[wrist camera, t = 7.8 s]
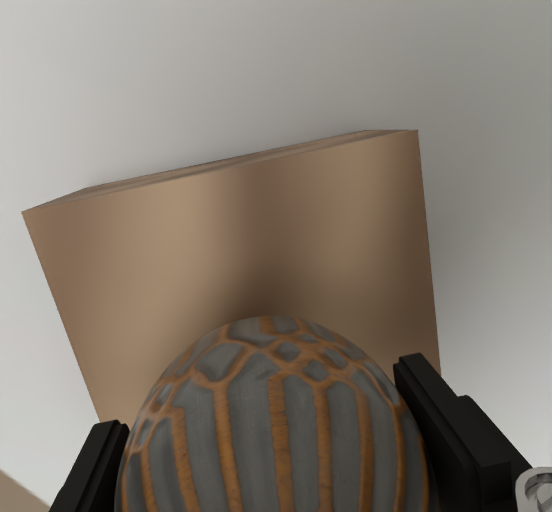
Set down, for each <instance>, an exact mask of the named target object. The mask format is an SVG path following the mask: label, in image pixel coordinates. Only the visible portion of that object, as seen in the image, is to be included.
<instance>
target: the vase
mask: <svg viewBox="0 0 552 512" xmlns="http://www.w3.org/2000/svg"><path fill="white" fill-rule="evenodd" d="M114 512H441V508H440V500H439V494H438V489H437V484H436V479H435V474H434V470H433V466H432V463H431V459H430V455H429V452H428V449H427V446H426V444H425V441H424V438H423V436H422V433H421V431H420V428H419V426H418V424H417V422H416V420H415V418H414V417H413V415H412V413H411V411H410V409H409V407H408V405H407V404H406V402H405V401H404V399H403V398H402V396H401V395H400V393H399V392H398V390H397V389H396V387H395V386H394V384H393V383H392V381H391V380H390V379H389V378H388V377H387V375H386V374H385V373H384V372H383V370H382V369H381V368H380V367H379V366H378V364H377V363H376V362H375V361H374V360H373V359H372V358H371V357H370V356H368V355H367V354H366V353H365V352H364V351H363V350H361V349H360V348H359V347H358V346H356V345H355V344H354V343H352V342H351V341H349V340H348V339H346V338H345V337H343V336H342V335H340V334H338V333H336V332H334V331H332V330H330V329H328V328H326V327H324V326H322V325H319V324H317V323H314V322H311V321H307V320H303V319H299V318H293V317H284V316H259V317H252V318H247V319H242V320H239V321H235V322H232V323H229V324H227V325H224V326H222V327H219V328H217V329H215V330H213V331H211V332H209V333H207V334H206V335H204V336H203V337H201V338H200V339H198V340H197V341H195V342H194V343H193V344H191V345H190V346H189V347H188V348H186V349H185V350H184V351H183V352H182V353H181V354H180V355H178V356H177V357H176V358H175V359H174V360H173V361H172V363H171V364H170V365H169V366H168V367H167V368H166V370H165V371H164V372H163V373H162V374H161V376H160V377H159V378H158V379H157V381H156V382H155V384H154V385H153V387H152V388H151V390H150V391H149V393H148V395H147V397H146V399H145V400H144V402H143V404H142V406H141V408H140V410H139V412H138V414H137V417H136V419H135V421H134V424H133V426H132V429H131V431H130V433H129V436H128V439H127V442H126V445H125V448H124V452H123V455H122V458H121V462H120V466H119V471H118V477H117V483H116V490H115V499H114Z"/></svg>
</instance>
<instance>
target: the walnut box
mask: <svg viewBox="0 0 552 512" xmlns="http://www.w3.org/2000/svg"><path fill="white" fill-rule="evenodd" d="M21 213H22V215H23V218H24V221H25V223H26V226H27V229H28V231H29V234H30V237H31V239H32V242H33V245H34V247H35V250H36V253H37V255H38V258H39V261H40V263H41V266H42V269H43V271H44V274H45V277H46V279H47V282H48V285H49V287H50V290H51V293H52V295H53V298H54V301H55V303H56V306H57V309H58V311H59V314H60V317H61V319H62V322H63V325H64V327H65V330H66V333H67V335H68V338H69V341H70V343H71V346H72V349H73V351H74V354H75V357H76V359H77V362H78V365H79V367H80V370H81V373H82V375H83V378H84V381H85V383H86V386H87V389H88V391H89V394H90V397H91V399H92V402H93V405H94V407H95V410H96V413H97V415H98V418H99V420H100V423H102V422H106V421H111V420H115V419H117V420H119V421H120V423H121V424H124V423H125V424H127V425H128V427H129V430H130V431H131V429H132V426H133V424H134V421H135V419H136V417H137V414H138V412H139V410H140V408H141V406H142V404H143V402H144V400H145V399H146V397H147V395H148V393H149V391H150V390H151V388H152V387H153V385H154V384H155V382H156V381H157V379H158V378H159V377H160V376H161V374H162V373H163V372H164V371H165V370H166V368H167V367H168V366H169V365H170V364H171V363H172V361H173V360H174V359H175V358H176V357H177V356H178V355H180V354H181V353H182V352H183V351H184V350H185V349H186V348H188V347H189V346H190V345H191V344H193V343H194V342H195V341H197V340H198V339H200V338H201V337H203V336H204V335H206V334H207V333H209V332H211V331H213V330H215V329H217V328H219V327H222V326H224V325H227V324H229V323H232V322H235V321H239V320H242V319H247V318H252V317H259V316H284V317H293V318H299V319H303V320H307V321H311V322H314V323H317V324H319V325H322V326H324V327H326V328H328V329H330V330H332V331H334V332H336V333H338V334H340V335H342V336H343V337H345V338H346V339H348V340H349V341H351V342H352V343H354V344H355V345H356V346H358V347H359V348H360V349H361V350H363V351H364V352H365V353H366V354H367V355H368V356H370V357H371V358H372V359H373V360H374V361H375V362H376V363H377V364H378V366H379V367H380V368H381V369H382V370H383V372H384V373H385V374H386V375H387V377H388V378H389V379H390V380H391V381H392V383H393V384H394V386H395V381H394V373H393V364H394V363H399V357H400V356H405V355H409V354H414V353H418V352H420V353H421V354H423V356H424V357H425V358H426V359H427V360H428V362H429V363H430V364H431V365H432V366H433V368H434V369H435V370H436V371H437V373H438V374H439V375H440V376H441V369H440V359H439V348H438V338H437V327H436V317H435V306H434V296H433V285H432V275H431V264H430V254H429V243H428V233H427V222H426V212H425V201H424V191H423V180H422V170H421V159H420V149H419V139H418V130H364V131H359V132H354V133H350V134H345V135H340V136H335V137H330V138H325V139H321V140H316V141H311V142H306V143H301V144H296V145H291V146H287V147H282V148H277V149H272V150H267V151H262V152H258V153H253V154H248V155H243V156H238V157H233V158H229V159H224V160H219V161H214V162H209V163H204V164H199V165H195V166H190V167H185V168H180V169H175V170H170V171H166V172H161V173H156V174H151V175H146V176H141V177H137V178H132V179H127V180H122V181H117V182H112V183H108V184H103V185H98V186H93V187H88V188H84V189H82V190H79V191H76V192H74V193H71V194H68V195H65V196H63V197H60V198H57V199H55V200H52V201H49V202H47V203H44V204H41V205H39V206H36V207H33V208H30V209H28V210H25V211H22V212H21Z"/></svg>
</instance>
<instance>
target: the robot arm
mask: <svg viewBox="0 0 552 512" xmlns="http://www.w3.org/2000/svg"><path fill="white" fill-rule="evenodd" d="M393 373H394V381H395V387H396V389H397V390H398V392H399V393H400V395H401V396H402V398H403V399H404V401H405V402H406V404H407V405H408V407H409V409H410V411H411V413H412V415H413V417H414V418H415V420H416V422H417V424H418V426H419V428H420V431H421V433H422V436H423V438H424V441H425V444H426V446H427V449H428V452H429V455H430V459H431V463H432V466H433V470H434V474H435V479H436V484H437V489H438V494H439V500H440V508H441V512H552V467H537V468H533V467H532V466H531V465H530V464H529V463H528V462H527V461H526V459H525V458H524V457H523V456H522V455H521V454H520V453H519V451H518V450H517V449H516V448H515V447H514V446H513V445H512V443H511V442H510V441H509V440H508V439H507V438H506V437H505V435H504V434H503V433H502V432H501V431H500V430H499V429H498V428H497V426H496V425H495V424H494V423H493V422H492V421H491V420H490V418H489V417H488V416H487V415H486V414H485V413H484V412H483V410H482V409H481V408H480V407H479V406H478V405H477V404H476V402H475V401H474V400H473V399H472V398H471V397H470V396H467V395H463V396H459V397H457V395H456V394H455V393H454V392H453V391H452V389H451V388H450V387H449V386H448V385H447V383H446V382H445V381H444V380H443V379H442V377H441V376H440V375H439V374H438V373H437V371H436V370H435V369H434V368H433V366H432V365H431V364H430V363H429V362H428V360H427V359H426V358H425V357H424V356H423V354H421V353H420V352H418V353H414V354H409V355H405V356H400V357H399V363H394V364H393ZM129 433H130V430H129V427H128V425H127V424H125V423H124V424H121V423H120V421H119V420H117V419H115V420H111V421H106V422H102V423H97V424H95V425H94V426H93V427H92V429H91V431H90V433H89V435H88V437H87V439H86V441H85V443H84V445H83V447H82V449H81V451H80V453H79V455H78V457H77V459H76V461H75V463H74V465H73V467H72V469H71V471H70V473H69V475H68V477H67V479H66V481H65V483H64V486H63V487H62V488H61V489H60V491H59V492H58V494H57V496H56V498H55V500H54V502H53V504H52V506H51V508H50V510H49V512H114V499H115V490H116V483H117V477H118V471H119V466H120V462H121V458H122V455H123V452H124V448H125V445H126V442H127V439H128V436H129Z"/></svg>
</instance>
